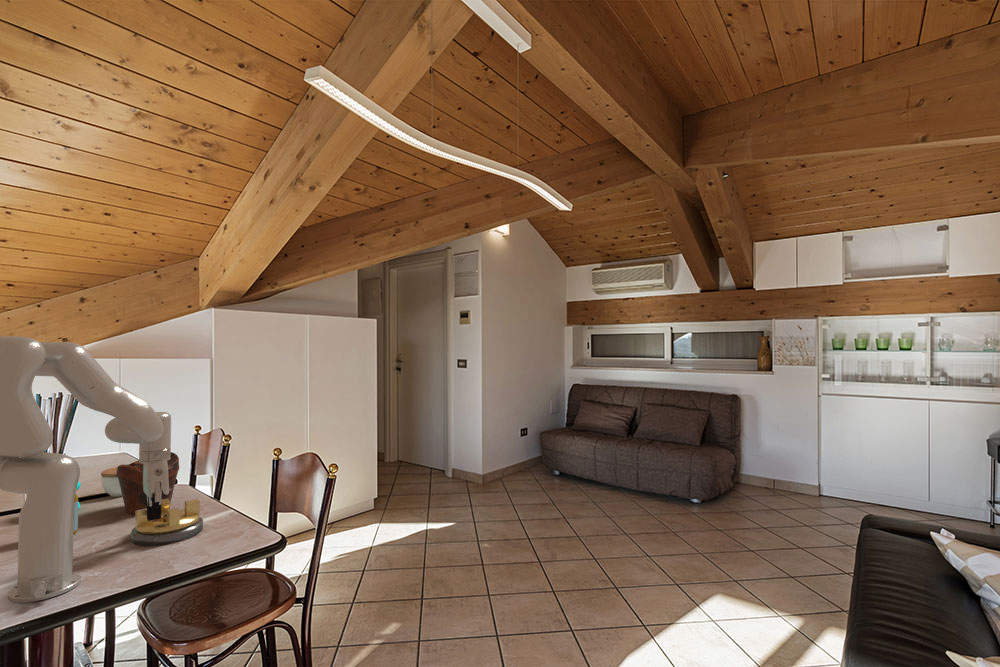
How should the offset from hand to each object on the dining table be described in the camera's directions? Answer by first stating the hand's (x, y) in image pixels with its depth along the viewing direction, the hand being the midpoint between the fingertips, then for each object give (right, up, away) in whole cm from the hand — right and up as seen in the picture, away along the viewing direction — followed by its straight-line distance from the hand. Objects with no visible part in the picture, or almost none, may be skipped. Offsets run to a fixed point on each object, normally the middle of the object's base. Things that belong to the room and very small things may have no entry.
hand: (153, 518), depth 144 cm
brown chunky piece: (-22, -7, +29) cm, 37 cm away
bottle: (-30, -7, +4) cm, 31 cm away
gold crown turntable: (0, -4, +6) cm, 7 cm away
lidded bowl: (-43, -7, +45) cm, 63 cm away
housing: (0, -7, +6) cm, 9 cm away
